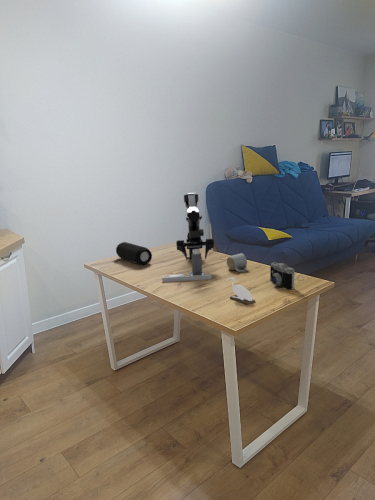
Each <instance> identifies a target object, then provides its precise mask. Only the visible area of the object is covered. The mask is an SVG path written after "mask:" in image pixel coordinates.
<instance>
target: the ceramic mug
mask: <svg viewBox="0 0 375 500" xmlns="http://www.w3.org/2000/svg"><path fill="white" fill-rule="evenodd" d="M226 265H227V268H228V269H229V270H231V271H237V272H238V273H245V272H246V271H247V265H248V260H247V257H246V256H245V254H244V253H237V254H233V255H230V256H228V257H227V258H226Z"/></svg>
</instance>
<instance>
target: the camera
mask: <svg viewBox="0 0 375 500" xmlns="http://www.w3.org/2000/svg"><path fill="white" fill-rule="evenodd" d="M269 269H270V270H269V271H270V272H269V273H270V275H269V276H270V279H269V280H270V282H271V283H272V285H275V286H277V287H282V288H283V289H285V290H288V291H290V290H294V289H295V272H296V270H295V269H294V268H293V267H290V266H288V264H286V263H282V262H281V263H277V262H275V261H274V262H272V263H271V264H270V267H269Z"/></svg>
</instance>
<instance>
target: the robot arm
mask: <svg viewBox="0 0 375 500" xmlns="http://www.w3.org/2000/svg"><path fill="white" fill-rule="evenodd" d="M199 201H200V200H199V194H197V193H196V192H188V193H186V194H183V202H184V203H185V207H186V214H185V220H186V222H187V223H188V224H187V225H188V233H187V236H186V237H187V238H186V240H184V239H180V240H176V244H175V245H176V250H177V251H179V252H181V253H182V254H183V256H184V258H185V260H186V261H188V260H190V261H192V253H193V249H203V246H205V252H204V259H205V260H207V257H208V253H209V252H210V251H211V250H212V249H214V248H215V239H214V238H213V237H212V238H205V241H203V240H202V237H204V234H205V231H204V229H202V228H200V221H202V220H203V215H202V214H201V212H200V210H199V208H198V203H199ZM185 241H186V242H185ZM187 250H188V254H187ZM188 255H189V256H188ZM202 259H203V257H202V256H201V260H202Z"/></svg>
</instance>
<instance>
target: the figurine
mask: <svg viewBox="0 0 375 500" xmlns="http://www.w3.org/2000/svg"><path fill="white" fill-rule="evenodd" d="M228 280H232V283H231V286H232V291H233V293H234V295H231V296H229V299H230V300H232V301H235V302H238V303H241V304H243V305H246V306H250V305H252V304H254V303H256V300H255V299H253V295H252V293H251V292H250V291H249V290H248V289H247V288H246V287H244V286H243V285H242V284H234V283H235V281H236V278H235V277H234V276H231V277H227V278H226V281H225V282H227V281H228Z"/></svg>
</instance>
